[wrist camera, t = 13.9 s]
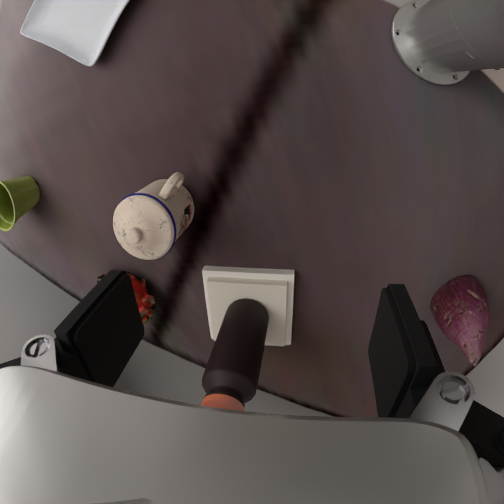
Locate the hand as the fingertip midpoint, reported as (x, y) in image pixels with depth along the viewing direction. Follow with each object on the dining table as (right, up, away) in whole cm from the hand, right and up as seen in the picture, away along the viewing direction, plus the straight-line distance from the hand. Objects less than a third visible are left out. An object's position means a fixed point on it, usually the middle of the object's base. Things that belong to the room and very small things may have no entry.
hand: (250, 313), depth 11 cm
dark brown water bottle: (-1, -8, +38) cm, 39 cm away
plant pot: (-42, +14, +38) cm, 59 cm away
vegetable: (+35, -6, +35) cm, 50 cm away
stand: (0, -7, +41) cm, 41 cm away
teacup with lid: (-12, +10, +35) cm, 38 cm away
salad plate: (-25, +43, +21) cm, 54 cm away
